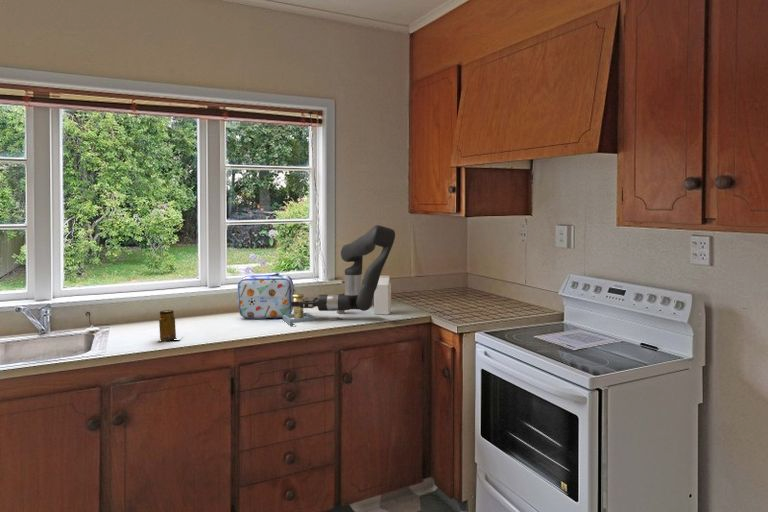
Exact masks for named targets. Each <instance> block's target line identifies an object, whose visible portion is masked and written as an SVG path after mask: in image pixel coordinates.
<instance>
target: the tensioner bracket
mask: <svg viewBox="0 0 768 512" xmlns="http://www.w3.org/2000/svg"><path fill="white" fill-rule="evenodd" d="M335 295H345V293H344V292H337V293H335ZM345 312H346V310H337V311H336V314H338V315H344V314H346V313H345ZM327 319H328V320H330V321H331V322H333V321H342V320H344V319H343V318H341V317H338V316H337V317H329V318H327Z"/></svg>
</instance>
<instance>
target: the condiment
mask: <svg viewBox="0 0 768 512" xmlns="http://www.w3.org/2000/svg"><path fill="white" fill-rule="evenodd" d="M158 321H159V322H158V323H159V326H158V327H159V340H161V341H168V342H170V341H169V340H174V339H177V338H176V337H177V332H176V317H175V314H174V310H172V309H166V310H165V309H163V310H160V312H159V319H158ZM159 340H158V341H157V343H160V342H159Z"/></svg>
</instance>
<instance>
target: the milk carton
mask: <svg viewBox="0 0 768 512" xmlns="http://www.w3.org/2000/svg"><path fill="white" fill-rule="evenodd" d="M373 300H374V302H373V305H374V315H387V316H388V315H390V313H391V312H392V282H391V279H390V275H380V278H379V281H378V285H377V288H376V290H375V292H374V296H373Z"/></svg>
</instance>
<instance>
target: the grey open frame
mask: <svg viewBox="0 0 768 512" xmlns="http://www.w3.org/2000/svg"><path fill="white" fill-rule="evenodd" d="M282 317H283V318H282V322H283V321H284V322H283V323H285V322H286V323H287V324H288V326H289V325H290V326H289V327H294V326H293V325H296V323H303V322H312V321H316V316H314V315H312V314H311V313H309V312H304V318H297V319H294V313H291V314H288V315H283V316H282ZM286 323H285V324H286ZM287 324H286V325H287Z"/></svg>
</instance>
